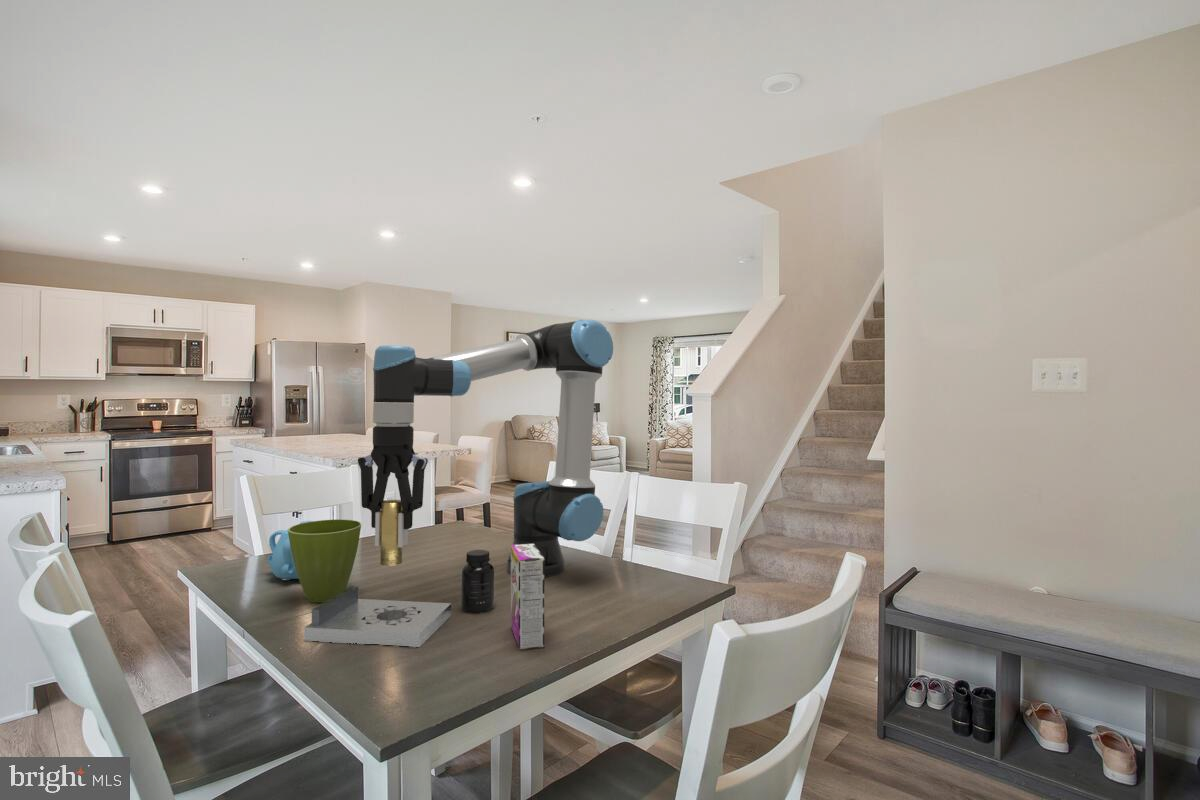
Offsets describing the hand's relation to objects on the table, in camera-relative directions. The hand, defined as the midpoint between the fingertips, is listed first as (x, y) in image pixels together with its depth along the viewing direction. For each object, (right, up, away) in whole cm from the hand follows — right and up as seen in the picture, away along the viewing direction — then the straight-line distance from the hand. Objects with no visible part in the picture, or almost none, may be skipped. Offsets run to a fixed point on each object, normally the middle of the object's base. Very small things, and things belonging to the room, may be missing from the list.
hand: (391, 544), depth 115 cm
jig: (-2, -16, 0) cm, 16 cm away
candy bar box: (+27, -17, -4) cm, 32 cm away
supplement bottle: (+14, -17, +12) cm, 25 cm away
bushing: (0, -4, 0) cm, 4 cm away
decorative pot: (-33, -16, +34) cm, 50 cm away
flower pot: (-21, -16, +17) cm, 32 cm away
